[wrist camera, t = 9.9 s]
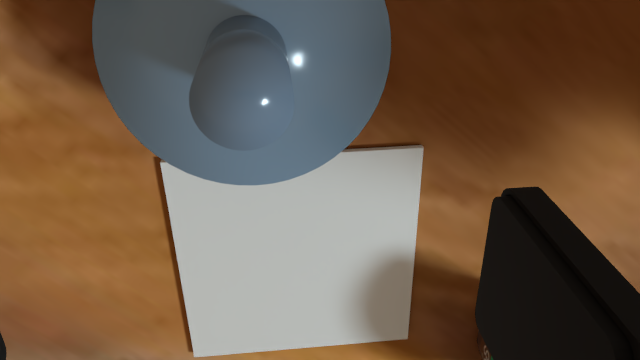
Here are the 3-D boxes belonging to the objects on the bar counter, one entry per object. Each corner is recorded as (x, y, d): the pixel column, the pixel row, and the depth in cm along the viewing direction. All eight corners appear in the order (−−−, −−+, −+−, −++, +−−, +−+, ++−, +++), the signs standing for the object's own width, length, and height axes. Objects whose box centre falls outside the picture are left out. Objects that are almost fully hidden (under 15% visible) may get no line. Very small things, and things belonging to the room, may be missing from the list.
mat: (421, 144, 33) (423, 147, 33) (406, 335, 41) (407, 338, 41) (161, 159, 32) (160, 162, 32) (195, 353, 40) (194, 357, 39)
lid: (395, -112, 22) (446, -114, 16) (380, 171, 28) (413, 247, 22) (66, -110, 21) (-12, -111, 15) (125, 184, 27) (87, 267, 21)
